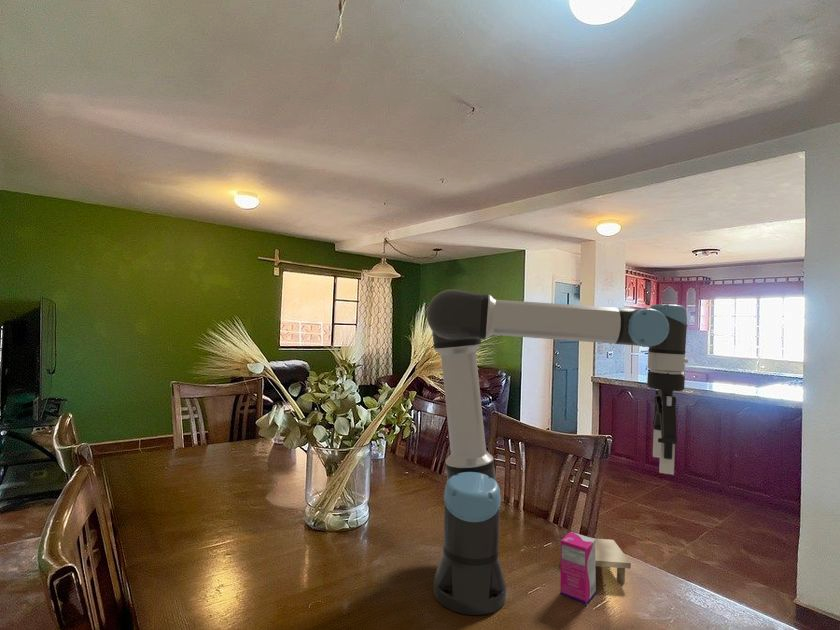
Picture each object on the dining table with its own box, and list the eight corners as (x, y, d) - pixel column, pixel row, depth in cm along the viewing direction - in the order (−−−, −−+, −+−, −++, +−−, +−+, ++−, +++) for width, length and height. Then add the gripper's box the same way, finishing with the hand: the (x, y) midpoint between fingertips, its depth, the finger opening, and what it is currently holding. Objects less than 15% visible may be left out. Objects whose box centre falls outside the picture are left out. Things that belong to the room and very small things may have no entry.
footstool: (579, 582, 101) (579, 559, 101) (567, 557, 112) (567, 536, 112) (630, 586, 100) (630, 563, 100) (613, 560, 111) (613, 539, 111)
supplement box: (569, 582, 100) (570, 530, 101) (596, 593, 97) (597, 539, 97) (558, 594, 96) (560, 539, 96) (586, 605, 92) (588, 548, 92)
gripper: (695, 378, 91) (691, 484, 91) (676, 369, 114) (673, 453, 114) (653, 375, 94) (649, 478, 93) (643, 367, 117) (640, 449, 116)
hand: (662, 465), depth 104 cm, fingers open, 13 cm apart
